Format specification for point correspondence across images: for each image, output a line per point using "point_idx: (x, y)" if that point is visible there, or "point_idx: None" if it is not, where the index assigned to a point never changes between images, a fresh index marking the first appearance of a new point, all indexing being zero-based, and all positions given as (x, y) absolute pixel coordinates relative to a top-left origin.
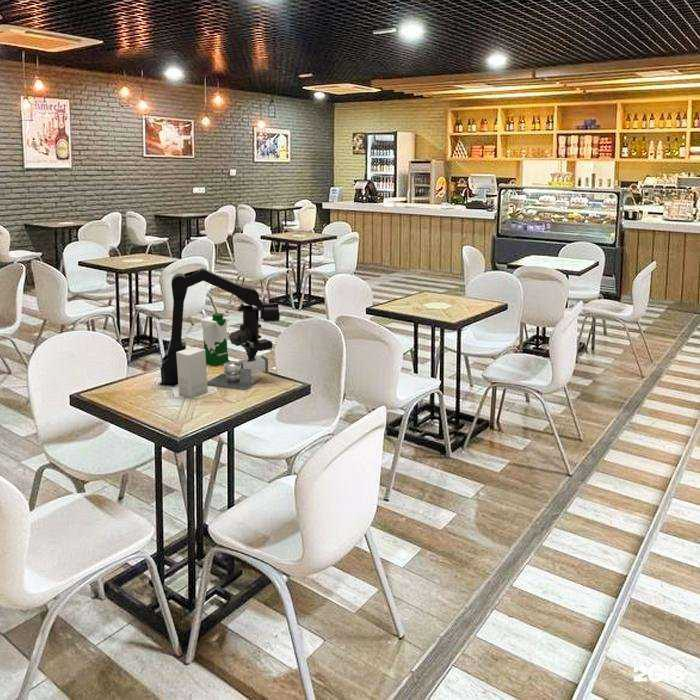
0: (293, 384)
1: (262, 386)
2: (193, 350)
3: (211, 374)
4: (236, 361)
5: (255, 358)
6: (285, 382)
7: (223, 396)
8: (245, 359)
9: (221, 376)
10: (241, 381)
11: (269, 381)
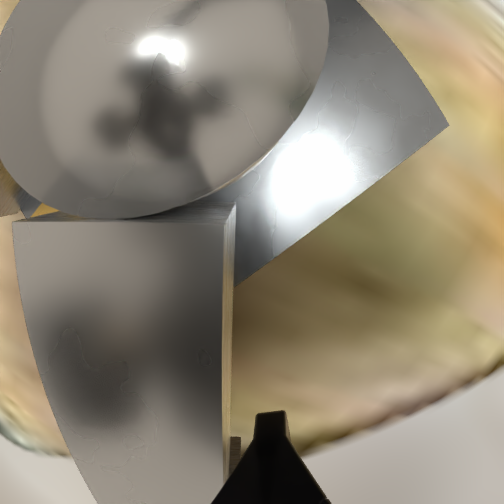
0: (22, 424)
1: (17, 284)
2: None
3: (496, 98)
4: (239, 155)
5: (191, 498)
6: (56, 423)
7: (6, 3)
8: (220, 385)
9: (376, 71)
10: None
11: None
